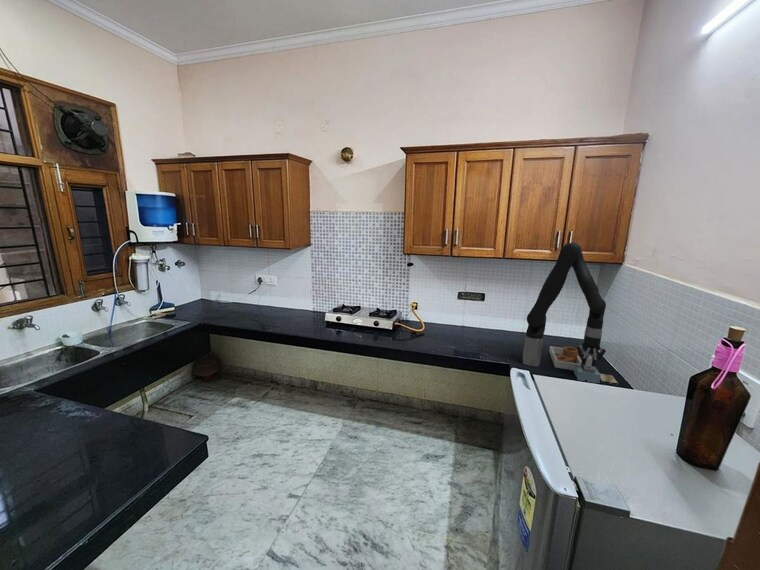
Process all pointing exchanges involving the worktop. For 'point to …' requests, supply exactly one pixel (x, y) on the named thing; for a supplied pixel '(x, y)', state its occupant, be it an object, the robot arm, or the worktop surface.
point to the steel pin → (588, 361)
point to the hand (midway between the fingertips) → (588, 364)
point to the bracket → (568, 355)
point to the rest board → (608, 378)
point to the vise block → (587, 373)
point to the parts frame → (561, 363)
